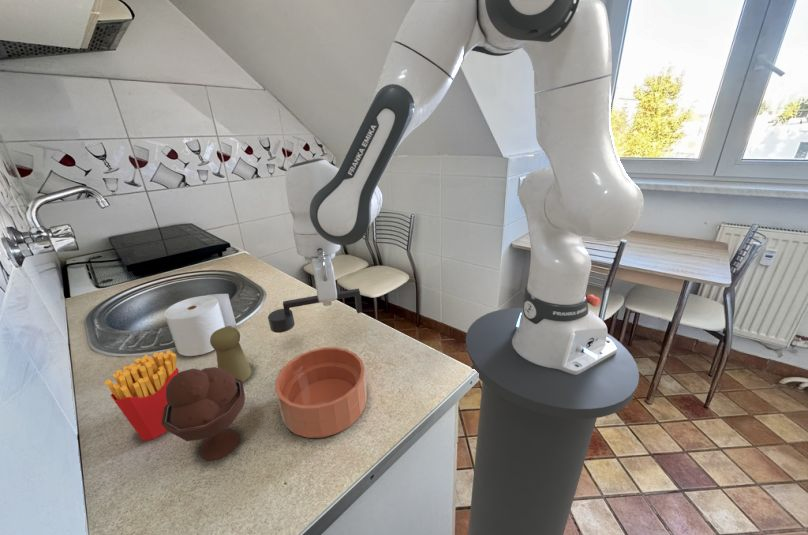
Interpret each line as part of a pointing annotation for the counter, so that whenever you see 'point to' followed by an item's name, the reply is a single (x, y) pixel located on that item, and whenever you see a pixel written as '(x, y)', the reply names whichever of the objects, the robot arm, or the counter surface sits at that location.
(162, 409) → the french fries
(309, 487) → the counter surface
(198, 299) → the toilet tissue
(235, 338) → the cork
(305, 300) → the ladle
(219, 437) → the ice cream bowl
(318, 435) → the bowl
